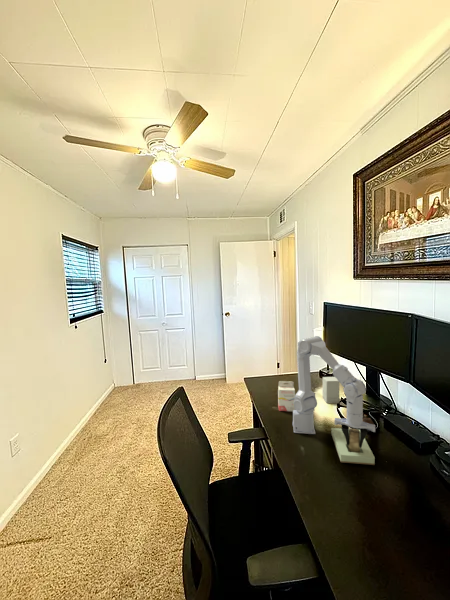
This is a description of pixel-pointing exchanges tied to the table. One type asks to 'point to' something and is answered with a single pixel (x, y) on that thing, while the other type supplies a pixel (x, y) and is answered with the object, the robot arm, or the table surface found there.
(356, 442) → the pin
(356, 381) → the robot arm
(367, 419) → the bolt
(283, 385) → the ink cartridge box
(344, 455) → the socket block
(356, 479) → the table surface
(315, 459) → the table surface
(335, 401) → the supplement box
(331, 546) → the table surface
